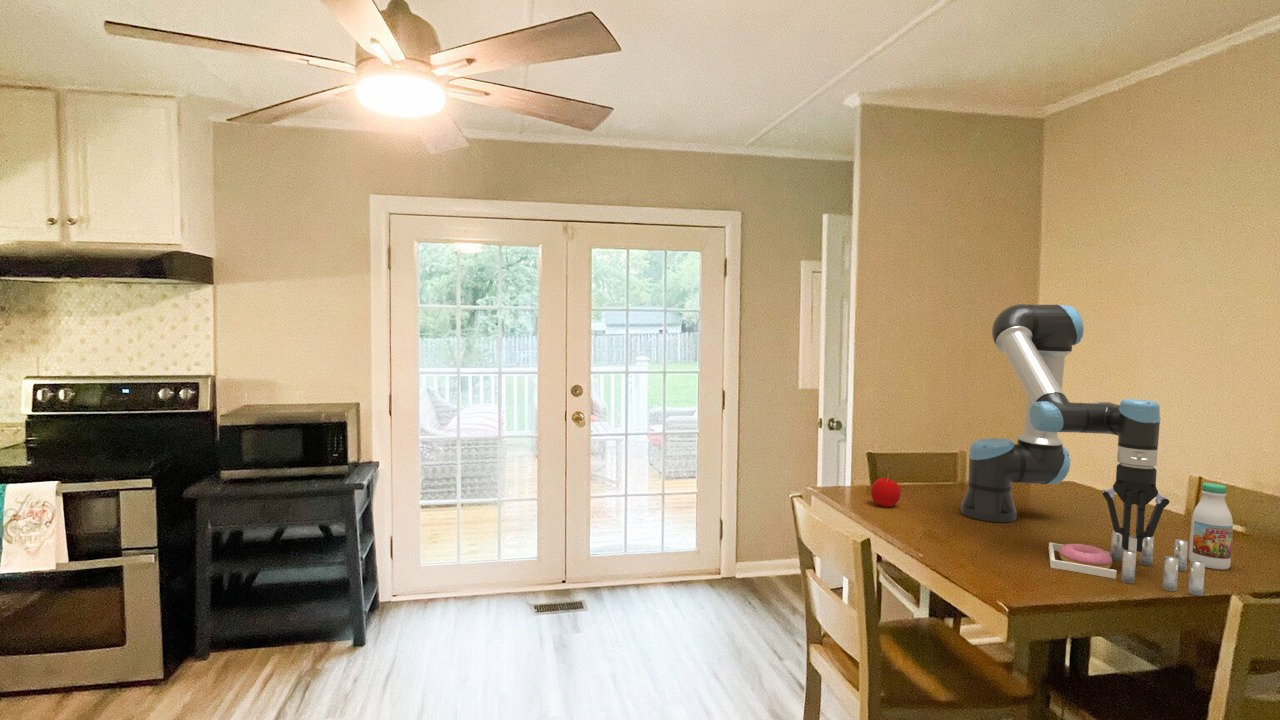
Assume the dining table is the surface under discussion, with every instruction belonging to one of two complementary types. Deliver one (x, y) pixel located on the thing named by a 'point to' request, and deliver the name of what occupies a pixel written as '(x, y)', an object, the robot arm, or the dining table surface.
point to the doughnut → (1085, 555)
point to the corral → (1077, 565)
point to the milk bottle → (1212, 529)
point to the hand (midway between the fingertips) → (1130, 563)
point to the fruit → (885, 492)
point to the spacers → (1169, 563)
